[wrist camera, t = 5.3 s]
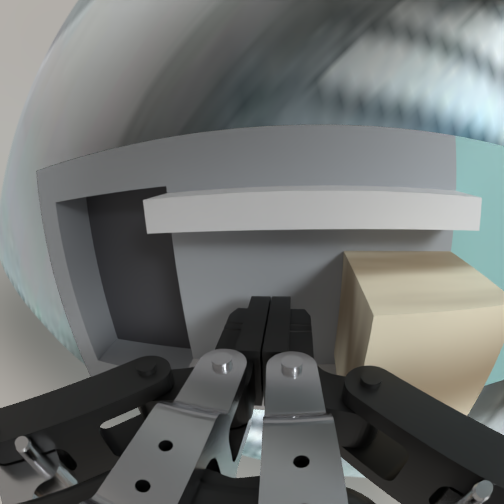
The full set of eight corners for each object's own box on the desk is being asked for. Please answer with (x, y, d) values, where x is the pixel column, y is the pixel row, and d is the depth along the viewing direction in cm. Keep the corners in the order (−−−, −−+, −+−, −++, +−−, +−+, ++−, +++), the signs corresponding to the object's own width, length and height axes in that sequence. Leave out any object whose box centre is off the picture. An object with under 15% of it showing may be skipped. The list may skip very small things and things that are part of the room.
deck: (69, 166, 15) (10, 175, 10) (528, 159, 10) (581, 167, 5) (111, 355, 19) (77, 395, 14) (491, 354, 14) (520, 395, 9)
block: (343, 250, 11) (373, 315, 6) (450, 251, 10) (517, 303, 5) (333, 353, 12) (343, 439, 8) (428, 347, 11) (465, 418, 7)
